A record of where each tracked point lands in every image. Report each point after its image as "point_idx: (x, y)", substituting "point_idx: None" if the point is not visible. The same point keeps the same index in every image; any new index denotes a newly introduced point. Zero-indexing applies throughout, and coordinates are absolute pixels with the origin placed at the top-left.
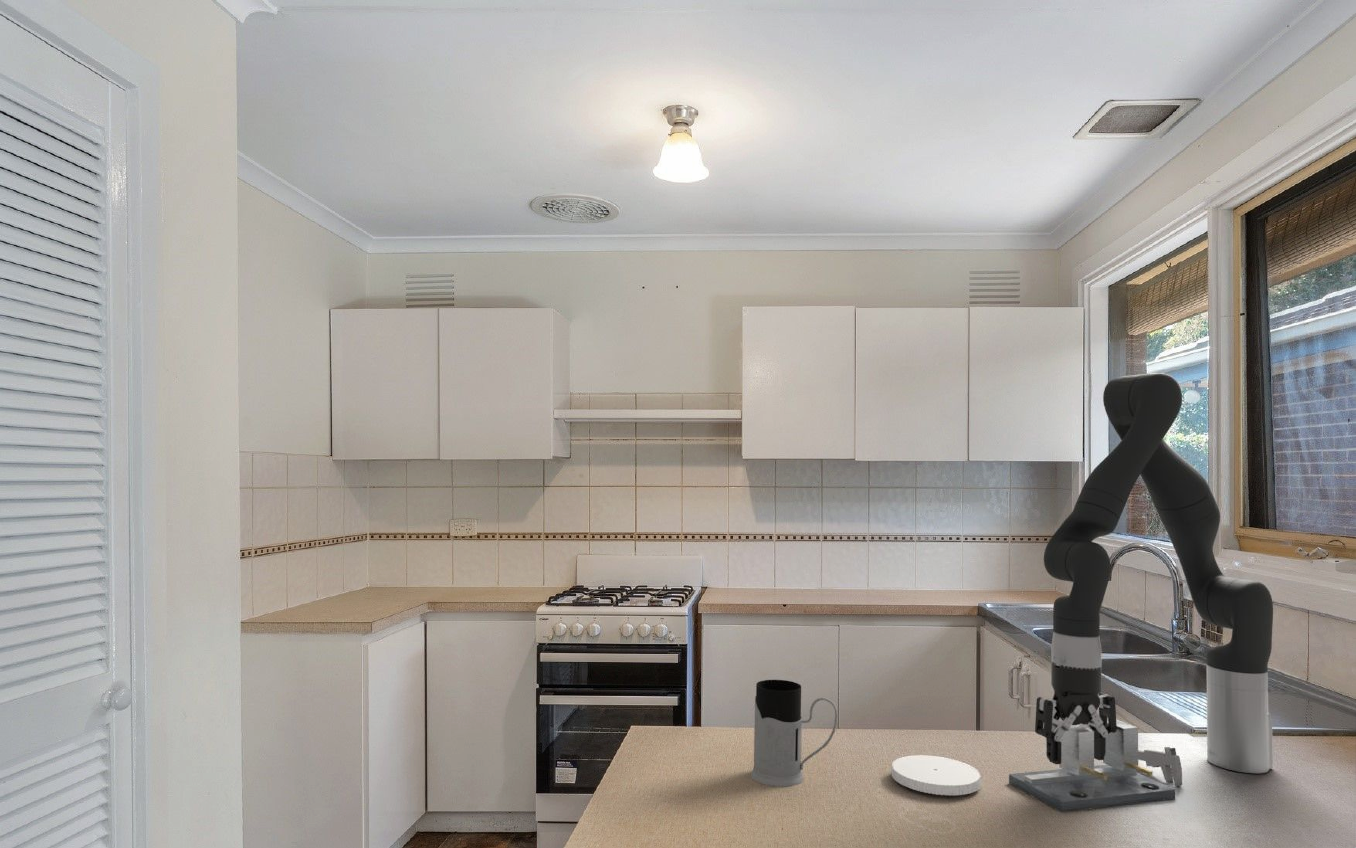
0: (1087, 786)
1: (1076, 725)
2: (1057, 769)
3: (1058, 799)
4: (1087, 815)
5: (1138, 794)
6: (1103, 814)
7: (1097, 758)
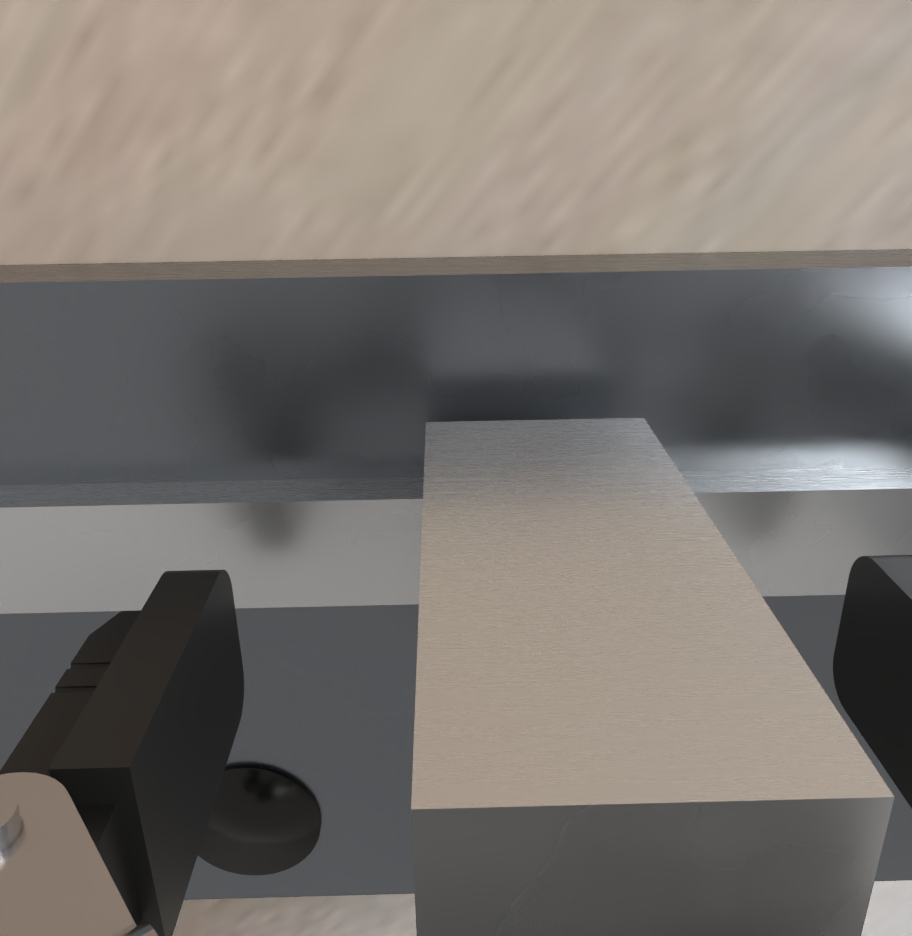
0: None
1: (780, 932)
2: (505, 277)
3: None
4: (198, 901)
5: None
6: (322, 907)
7: (843, 651)
